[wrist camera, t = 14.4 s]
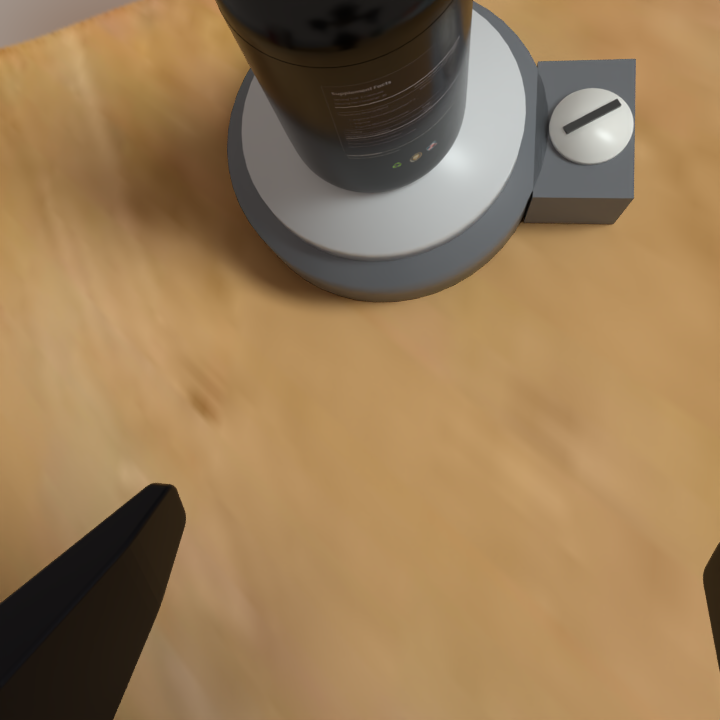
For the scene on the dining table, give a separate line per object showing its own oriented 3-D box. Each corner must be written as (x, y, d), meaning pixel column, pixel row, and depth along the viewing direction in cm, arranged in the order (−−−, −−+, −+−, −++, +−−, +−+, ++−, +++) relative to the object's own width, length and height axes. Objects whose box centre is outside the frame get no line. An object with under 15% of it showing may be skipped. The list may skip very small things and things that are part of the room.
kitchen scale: (611, 311, 23) (641, 288, 19) (233, 296, 25) (200, 273, 22) (617, 19, 24) (646, -51, 21) (262, 32, 27) (235, -28, 23)
